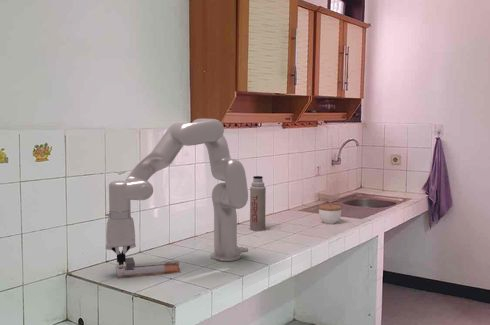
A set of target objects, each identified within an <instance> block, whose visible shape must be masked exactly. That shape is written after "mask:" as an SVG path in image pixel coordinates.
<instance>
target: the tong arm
mask: <svg viewBox="0 0 490 325" xmlns="http://www.w3.org/2000/svg"><path fill="white" fill-rule="evenodd" d="M167 264H177V265H178V269H180V262H179V260H172V261H171V260H169V261H160V262H158V261H157V262H149V263H148V262H146V263H135V267H145V266H156V265H167ZM132 268H134V267H132Z"/></svg>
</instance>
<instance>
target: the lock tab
mask: <svg viewBox="0 0 490 325" xmlns="http://www.w3.org/2000/svg"><path fill="white" fill-rule="evenodd" d="M135 264H136V263H135V259H134V257H133V256H132V257H125V262H124V265H125V266H126V268H132V267H135Z"/></svg>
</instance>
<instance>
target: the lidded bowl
mask: <svg viewBox="0 0 490 325" xmlns="http://www.w3.org/2000/svg"><path fill="white" fill-rule="evenodd" d="M342 209H343V207H342V205H338V204H332V202H329V203H327V204H320V205H318V215H319V218H320V220H321V221H322V222H323V224H327V225H334V224H337V222H338V221H339V220H340V219H341V216H342Z"/></svg>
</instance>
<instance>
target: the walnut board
mask: <svg viewBox="0 0 490 325" xmlns="http://www.w3.org/2000/svg"><path fill="white" fill-rule="evenodd" d="M123 268H126V265H123ZM115 270H116V272H117V269H116V268H115ZM169 274H170V275H171V274H173V275H174V274H182V270H180V268H179V269H178V272H169V273H157V274H147V275H136V276H125V277H118V276H117V279H127V278H129V279H130V278H139V277H150V276H159V275H161V276H162V275H169Z"/></svg>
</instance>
